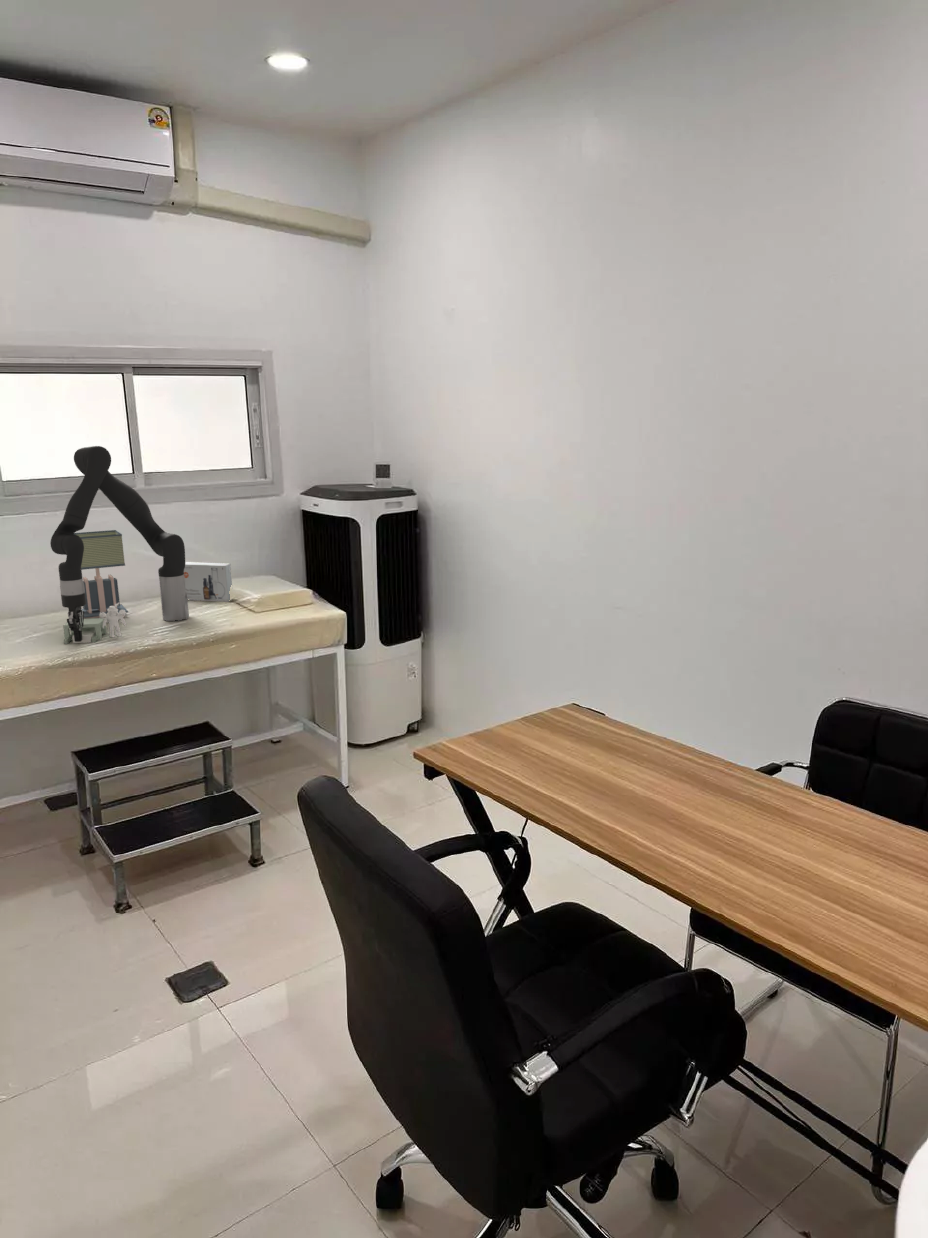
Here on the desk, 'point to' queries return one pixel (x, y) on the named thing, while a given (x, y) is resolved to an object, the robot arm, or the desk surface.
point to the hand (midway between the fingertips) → (78, 641)
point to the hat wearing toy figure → (113, 619)
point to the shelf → (87, 624)
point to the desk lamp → (99, 554)
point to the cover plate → (86, 635)
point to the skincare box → (207, 581)
